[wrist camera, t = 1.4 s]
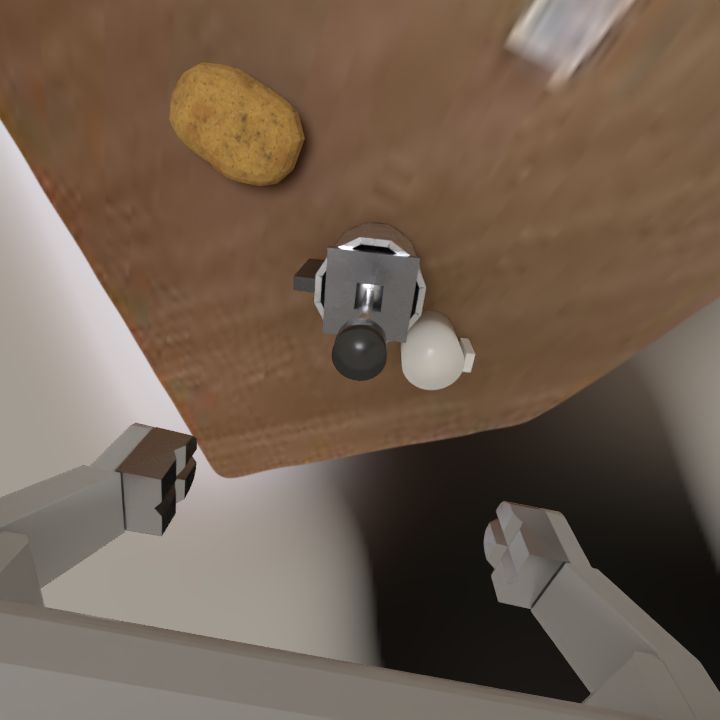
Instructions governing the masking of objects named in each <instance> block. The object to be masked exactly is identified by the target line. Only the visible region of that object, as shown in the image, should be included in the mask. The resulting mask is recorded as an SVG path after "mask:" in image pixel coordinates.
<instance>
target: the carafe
mask: <svg viewBox="0 0 720 720" xmlns="http://www.w3.org/2000/svg"><path fill="white" fill-rule="evenodd" d="M419 263H420V257H418V256H416V254H415V251H414V248H413V246H412V243H411V241H410V240H409V239H408V238H407V237H406V236H405V235H404V234H403V233H402V232H400V231H399V230H397V229H396V228H394V227H393V226H391V225H387V224H383V223H364V224H361V225H358V226H356V227H354V228H352V229H350V230H349V231H347V232H345V233H343V235H342V236H341V238H340V239H339V241H338V242H337V244H336V245H335V246H334V247H333V246H329V247H328V250H327V258H326V260H316V259H309V260H308V261H307V262H306V263H305V264H304V265H303V266H302V268H301V269H300V270H299V271H298V272H297V273H296V275H295V276H294V290H298V291H307V292H315V299H314V303H315V305H316V307H317V309H318V311H319V313H320V315H321V317H322V319H323V333H327V334H335V335H337V334H338V332H339V330H340V328H341V327H342V326H343V325H344V324H345V323H346V322H348V321H350V320H353V319H357V318H359V317H360V312H361V307H356V306H355V297H356V287H357V283H362V284H371V285H379V286H384V289H383V297H382V304H381V309H373V310H372V318H371V320H372V321H374V322H376V323H377V324H378V325H380V327H381V328H382V329H383V330H384V332H385V335H386V338H387V342H390V341H393V342H401V343H406V339H407V333H408V330H409V329H410V328H411V327H412V325H413V324H414V323H415V322H416V321H417V320H418V318H419V317H420V316H421V313H422V308H423V302H424V297H425V291H426V285H425V282H424V278H423V275H422V271H421V268H420V265H419Z"/></svg>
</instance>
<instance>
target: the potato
mask: <svg viewBox="0 0 720 720" xmlns="http://www.w3.org/2000/svg"><path fill="white" fill-rule="evenodd" d="M169 120H170V122H171V124H172V126H173V128H174V130H175V132H176V134H177V136H178V138H179V139H180V140H181V141H182V142H183V143H185V144H186V145H187V146H188V147H189V148H190V149H191V150H192V151H194V152H195V153H196V154H198V155H199V156H200V157H202V158H203V159H204V160H206V161H207V162H208V163H209V164H210V165H212V166H213V167H214V168H215V169H216V170H217V171H218V172H219V173H220V174H222V175H223V176H225V177H227V178H229V179H231V180H232V181H237V182H242V183H247V184H252V185H258V186H266V185H272V184H277V183H279V182H280V181H281V180H282V179H284V178H285V177H286V176H287V175H288V174H289V173H290V172H291V171H292V170H293V169H294V167H295V164H296V161H297V159H298V156H299V153H300V150H301V148H302V145H303V142H304V139H305V138H304V134H303V129H302V125H301V121H300V117H299V113H298V112H297V111H296V110H295V109H294V108H293V107H292V106H291V105H290V104H289V103H288V102H287V101H286V100H285V99H284V98H282V97H281V96H280V95H278V94H277V93H275V92H274V91H272V90H271V89H269V88H268V87H266V86H265V85H263V84H262V83H260V82H258V81H257V80H255V79H254V78H252V77H250V76H249V75H247V74H246V73H244V72H243V71H241V70H239V69H237V68H233V67H230V66H226V65H222V64H214V63H203V62H202V63H201V64H199V65H197V66H195V67H193V68H191V69H190V70H188V71H186V72H184V73H183V74H182V76H181V78H180V80H179V81H178V83H177V85H176V86H175V88H174V90H173V92H172V93H171V105H170V119H169Z"/></svg>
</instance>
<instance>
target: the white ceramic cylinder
mask: <svg viewBox="0 0 720 720" xmlns="http://www.w3.org/2000/svg"><path fill="white" fill-rule="evenodd" d="M474 358H475V352H474V350H473V348H472V345H471V343H470V341H469V339H467V338H460V342H459V341H458V339H457V336H456V334H455V331H454V328H453V326H452V324H451V322H450V320H449V319H448V318H447V317H446V316H445V315H443V314H441V313H439V312H436V311H431V310H425V311H422V313H421V316H420V317H419V318H418V320H417V321H416V322H415V323H414V324H413V325H412V327H411V328H410V329H409V330H408V333H407V339H406V343H401V360H402V370H403V373H404V375H405V377H406V378H407V380H408V381H409V382H410V383H412V384H413V385H415V386H416V387H419V388H421V389H425V390H438V389H442V388H445V387H447V386H449V385H451V384H452V383H454V382H455V381H456V380H457V379H458V378H459V376H460V375H461V373H462V371H463V372H471V369H472V365H473V361H474Z"/></svg>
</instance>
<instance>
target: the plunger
mask: <svg viewBox="0 0 720 720" xmlns="http://www.w3.org/2000/svg"><path fill="white" fill-rule="evenodd" d="M383 289H384V286H379V285H371V284H362V283H357V287H356V297H355V306H356V307H361V312H360V317H359V318H357V319H353V320H350V321H348V322H346V323H345V324H344V325H343V326H342V327H341V328H340V330H339V332H338V334H337V337H336V340H335V344H334V347H333V350H332V360H333V364H334V366H335V367H336V369H337V370H338V371H339V372H340V373H341V374H342V375H343V376H345V377H347V378H349V379H352V380H358V381H363V380H368V379H371V378H373V377H375V376H377V375H378V374H379V373H380V372H381V371H382V370H383V368H384V366H385V364H386V357H387V338H386V335H385V332H384V330H383V329H382V328H381V327H380V325H378V324H377V323H376V322H374V321H372V320H371V318H372V310H373V309H381V304H382V297H383Z"/></svg>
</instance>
